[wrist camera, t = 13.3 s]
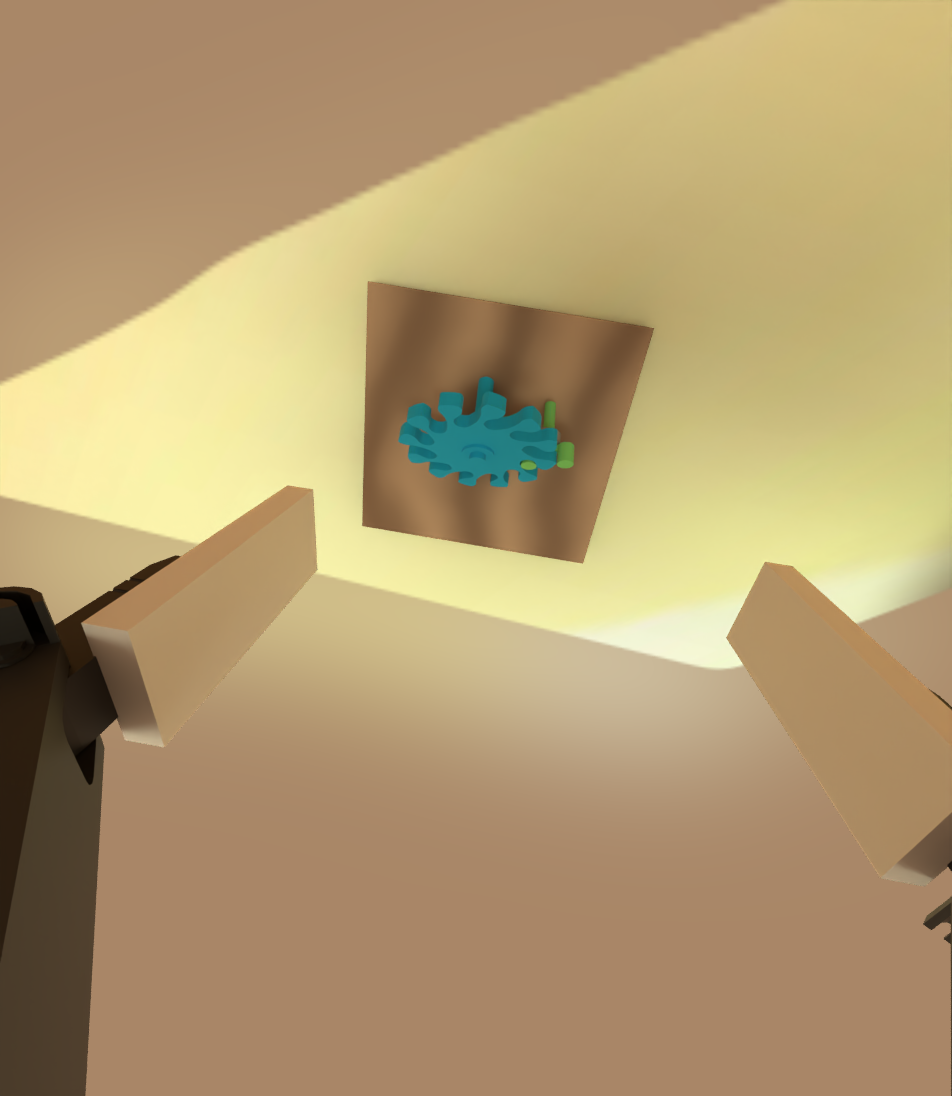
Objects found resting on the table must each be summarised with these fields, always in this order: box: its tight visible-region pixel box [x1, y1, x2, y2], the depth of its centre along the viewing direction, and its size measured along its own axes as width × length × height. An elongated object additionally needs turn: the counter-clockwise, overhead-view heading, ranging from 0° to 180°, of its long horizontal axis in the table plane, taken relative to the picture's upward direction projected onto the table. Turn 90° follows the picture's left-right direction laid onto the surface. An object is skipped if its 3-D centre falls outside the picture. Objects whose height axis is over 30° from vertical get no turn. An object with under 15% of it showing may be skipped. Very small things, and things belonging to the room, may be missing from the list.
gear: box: [398, 377, 574, 487], centre depth 28 cm, size 11×6×10 cm
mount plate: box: [362, 281, 654, 563], centre depth 31 cm, size 18×17×2 cm
